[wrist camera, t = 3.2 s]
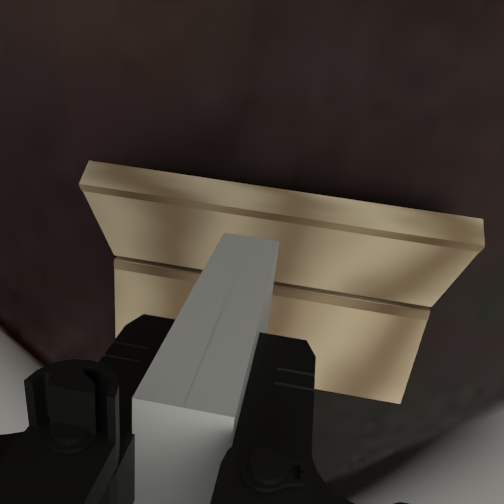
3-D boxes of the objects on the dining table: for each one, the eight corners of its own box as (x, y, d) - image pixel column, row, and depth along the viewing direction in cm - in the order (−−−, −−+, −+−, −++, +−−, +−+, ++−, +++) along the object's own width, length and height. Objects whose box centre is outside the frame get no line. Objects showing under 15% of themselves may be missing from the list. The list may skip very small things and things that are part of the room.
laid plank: (123, 340, 36) (115, 353, 34) (122, 249, 32) (113, 259, 31) (397, 389, 34) (400, 404, 33) (425, 298, 31) (430, 311, 29)
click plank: (121, 235, 32) (113, 256, 31) (88, 160, 25) (78, 184, 24) (431, 285, 30) (431, 308, 29) (483, 219, 24) (485, 246, 23)
